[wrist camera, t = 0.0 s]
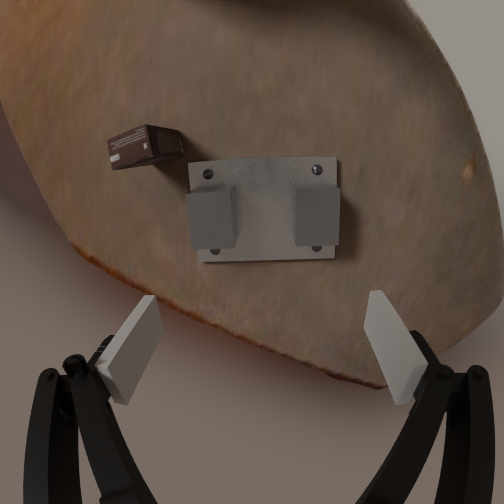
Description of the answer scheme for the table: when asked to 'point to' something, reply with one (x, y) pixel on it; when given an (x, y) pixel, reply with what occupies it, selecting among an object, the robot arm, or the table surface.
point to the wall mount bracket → (264, 208)
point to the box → (144, 147)
